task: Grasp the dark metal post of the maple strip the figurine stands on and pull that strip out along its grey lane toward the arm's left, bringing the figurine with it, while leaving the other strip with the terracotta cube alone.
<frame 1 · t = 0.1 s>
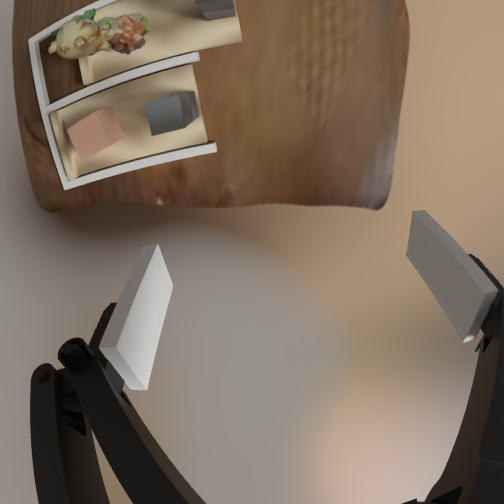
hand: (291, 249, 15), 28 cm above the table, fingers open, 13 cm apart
terracotta cube: (103, 129, 35), point 1 cm above the table, touching strip b
strip b: (108, 129, 31), point 6 cm above the table, slide at 0.0 cm, touching terracotta cube
lane board: (115, 81, 32), on the table
strip a: (139, 18, 24), point 6 cm above the table, slide at 6.6 cm, touching figurine
figurine: (124, 35, 29), resting on strip a
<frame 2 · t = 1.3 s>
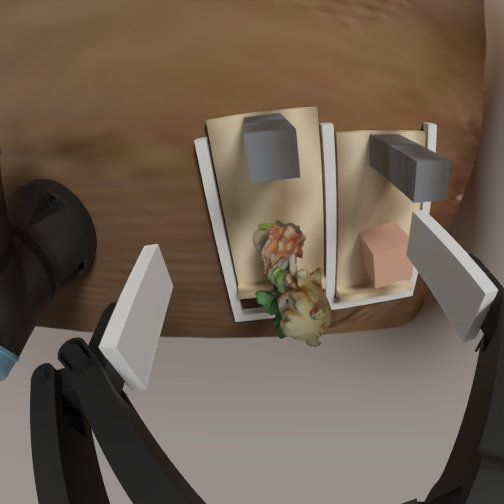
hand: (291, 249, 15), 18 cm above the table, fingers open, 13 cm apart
terracotta cube: (379, 243, 35), point 1 cm above the table, touching strip b
strip b: (396, 241, 30), point 6 cm above the table, slide at 0.0 cm, touching terracotta cube
lane board: (329, 223, 35), on the table
strip a: (278, 232, 29), point 6 cm above the table, slide at 3.0 cm, touching figurine
figurine: (278, 244, 36), resting on strip a
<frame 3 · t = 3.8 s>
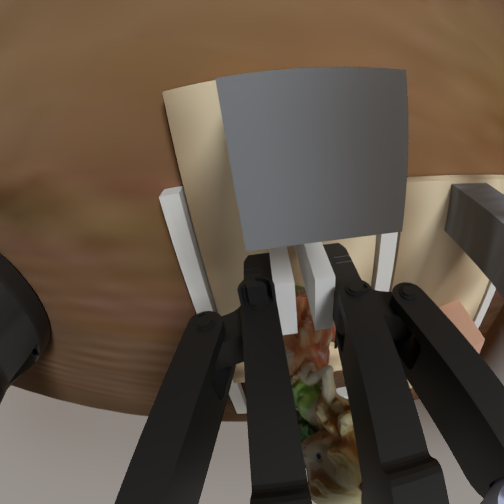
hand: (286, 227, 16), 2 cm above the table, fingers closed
terracotta cube: (433, 326, 23), point 1 cm above the table, touching strip b
strip b: (465, 341, 17), point 6 cm above the table, slide at 0.0 cm, touching terracotta cube
lane board: (372, 308, 22), on the table
strip a: (303, 309, 15), point 6 cm above the table, slide at 6.8 cm, touching figurine
figurine: (297, 314, 23), resting on strip a
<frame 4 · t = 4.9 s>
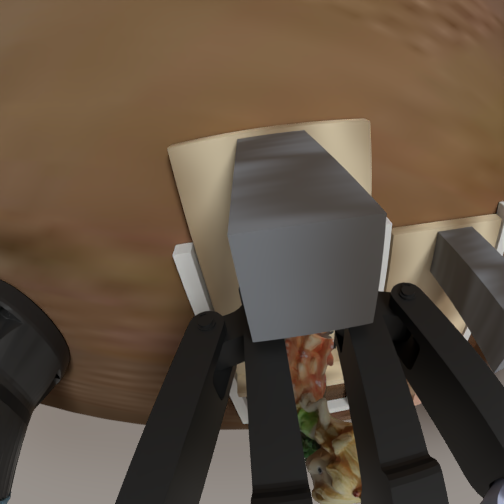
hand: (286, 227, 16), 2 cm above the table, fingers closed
strip b: (446, 365, 20), point 6 cm above the table, slide at 0.0 cm, touching terracotta cube
lane board: (363, 335, 25), on the table
strip a: (299, 343, 17), point 6 cm above the table, slide at 7.7 cm, touching figurine
figurine: (296, 339, 25), resting on strip a
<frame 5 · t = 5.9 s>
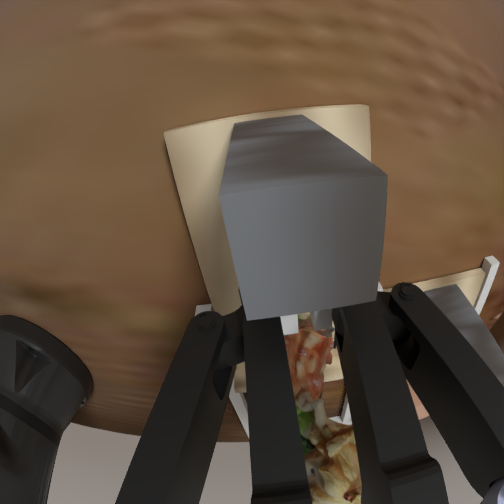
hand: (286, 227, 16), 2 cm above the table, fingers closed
terracotta cube: (406, 377, 28), point 1 cm above the table, touching strip b
strip b: (427, 396, 23), point 6 cm above the table, slide at 0.0 cm, touching terracotta cube
lane board: (356, 368, 28), on the table
strip a: (298, 334, 16), point 6 cm above the table, slide at 13.8 cm, touching figurine
figurine: (296, 335, 25), resting on strip a
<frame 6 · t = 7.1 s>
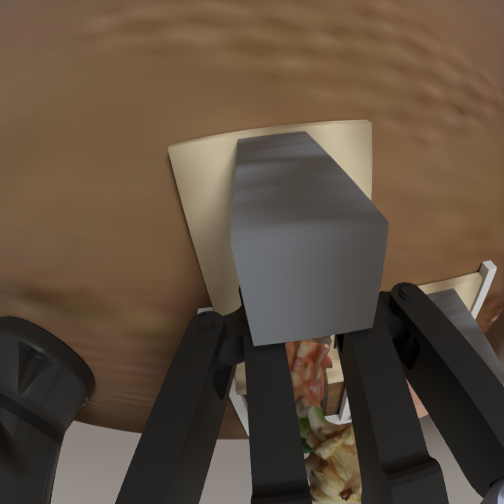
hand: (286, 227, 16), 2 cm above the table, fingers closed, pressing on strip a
terracotta cube: (403, 377, 29), point 1 cm above the table, touching strip b
strip b: (423, 397, 23), point 6 cm above the table, slide at 0.0 cm, touching terracotta cube
lane board: (354, 368, 28), on the table
strip a: (298, 343, 17), point 6 cm above the table, slide at 13.5 cm, touching figurine, gripper
figurine: (299, 344, 25), resting on strip a
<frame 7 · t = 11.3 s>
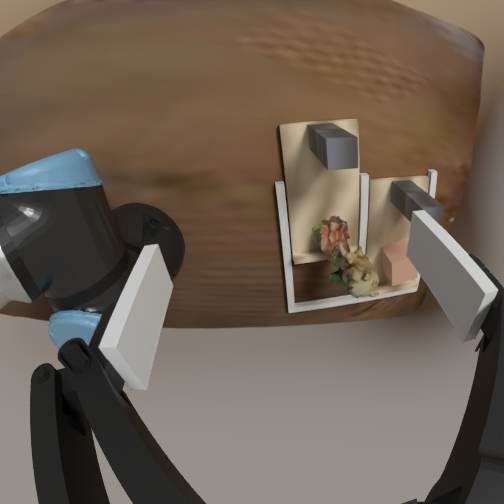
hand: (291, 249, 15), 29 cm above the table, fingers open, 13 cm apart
terracotta cube: (393, 253, 48), point 1 cm above the table, touching strip b
strip b: (406, 254, 43), point 6 cm above the table, slide at 0.0 cm, touching terracotta cube
lane board: (360, 240, 48), on the table
strip a: (332, 208, 39), point 6 cm above the table, slide at 9.3 cm, touching figurine
figurine: (331, 233, 47), resting on strip a
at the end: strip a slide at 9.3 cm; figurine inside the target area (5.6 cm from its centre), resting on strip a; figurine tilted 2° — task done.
